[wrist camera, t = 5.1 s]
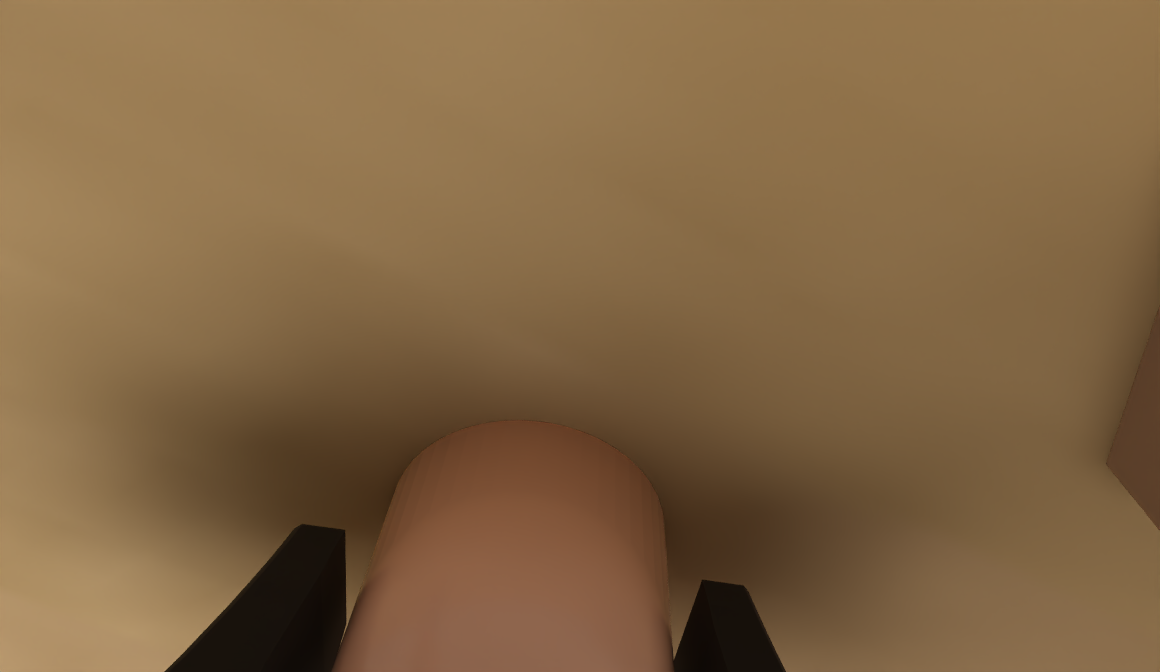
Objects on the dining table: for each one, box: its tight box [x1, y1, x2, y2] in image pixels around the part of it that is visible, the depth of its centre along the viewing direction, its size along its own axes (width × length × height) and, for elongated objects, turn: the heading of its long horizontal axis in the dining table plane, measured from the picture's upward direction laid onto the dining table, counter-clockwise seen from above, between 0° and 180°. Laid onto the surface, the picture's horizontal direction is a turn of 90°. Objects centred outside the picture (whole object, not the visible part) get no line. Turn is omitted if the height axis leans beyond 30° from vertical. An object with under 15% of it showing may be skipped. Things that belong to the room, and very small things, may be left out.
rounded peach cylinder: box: [331, 420, 674, 672], centre depth 10 cm, size 4×4×5 cm
